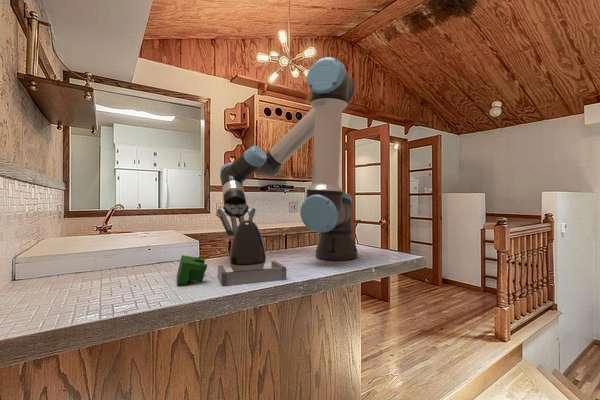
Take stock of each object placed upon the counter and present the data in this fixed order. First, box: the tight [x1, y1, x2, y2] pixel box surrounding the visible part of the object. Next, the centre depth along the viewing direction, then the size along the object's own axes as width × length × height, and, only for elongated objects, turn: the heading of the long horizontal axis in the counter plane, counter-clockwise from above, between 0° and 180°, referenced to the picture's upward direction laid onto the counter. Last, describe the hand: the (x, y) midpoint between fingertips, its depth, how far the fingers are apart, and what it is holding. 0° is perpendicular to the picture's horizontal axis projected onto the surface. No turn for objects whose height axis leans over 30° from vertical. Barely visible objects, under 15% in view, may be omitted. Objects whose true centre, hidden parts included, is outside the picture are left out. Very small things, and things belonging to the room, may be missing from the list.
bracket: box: [217, 260, 287, 287], centre depth 80 cm, size 16×10×3 cm, turn 111°
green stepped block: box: [176, 254, 208, 286], centre depth 79 cm, size 12×6×9 cm, turn 17°
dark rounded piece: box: [228, 219, 267, 272], centre depth 84 cm, size 10×10×15 cm
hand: (242, 251), depth 90 cm, fingers closed
